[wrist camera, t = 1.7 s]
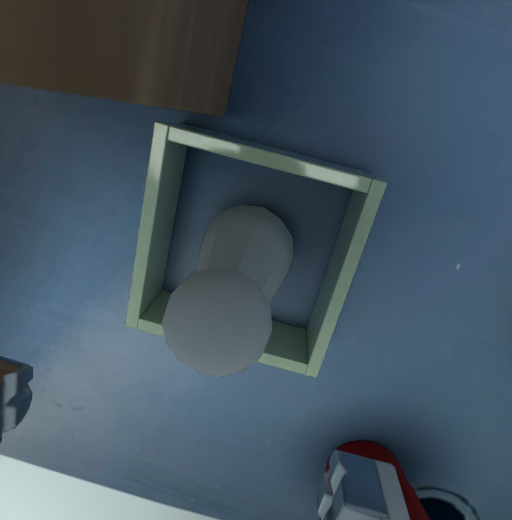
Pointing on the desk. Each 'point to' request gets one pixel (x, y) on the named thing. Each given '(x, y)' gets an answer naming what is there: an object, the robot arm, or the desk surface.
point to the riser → (125, 49)
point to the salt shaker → (230, 292)
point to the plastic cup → (380, 453)
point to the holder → (182, 135)
